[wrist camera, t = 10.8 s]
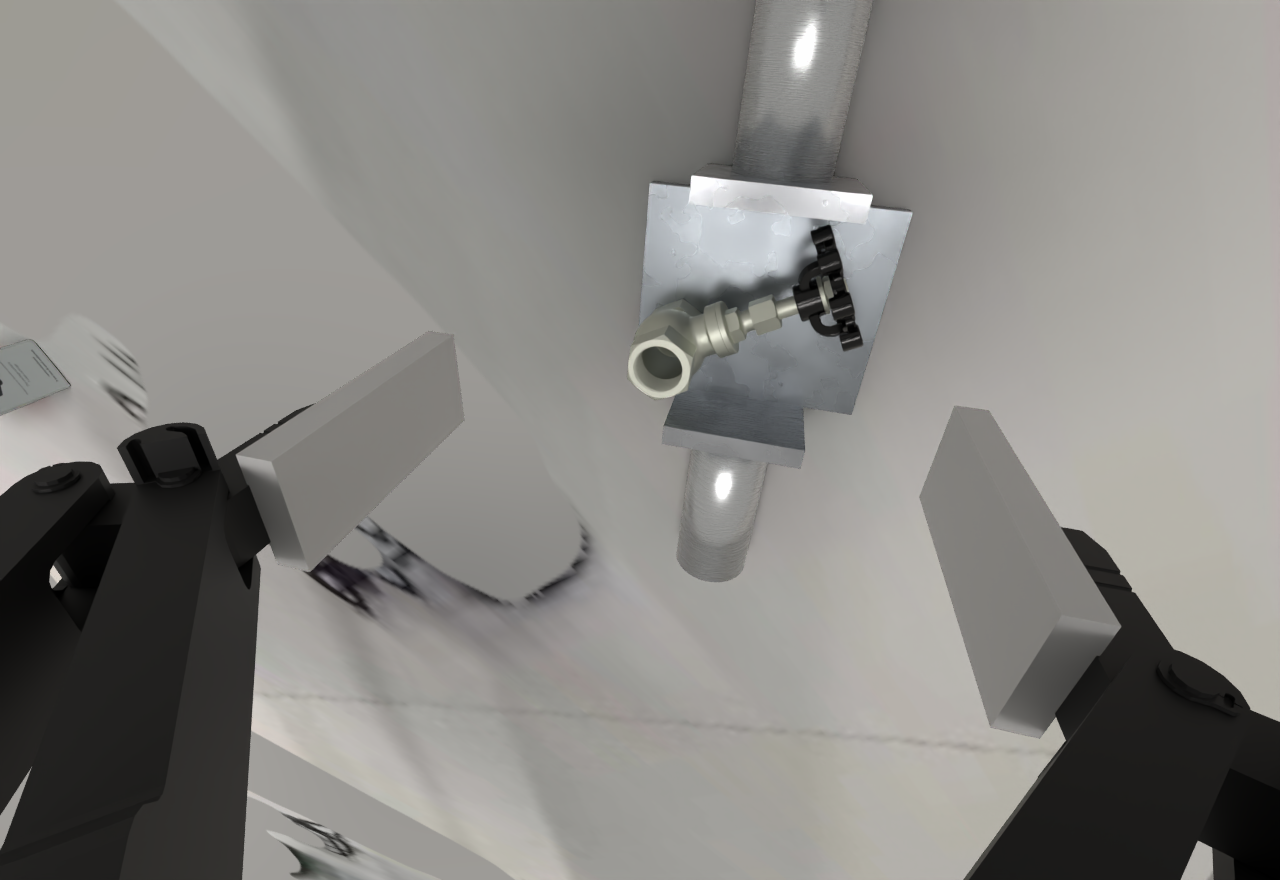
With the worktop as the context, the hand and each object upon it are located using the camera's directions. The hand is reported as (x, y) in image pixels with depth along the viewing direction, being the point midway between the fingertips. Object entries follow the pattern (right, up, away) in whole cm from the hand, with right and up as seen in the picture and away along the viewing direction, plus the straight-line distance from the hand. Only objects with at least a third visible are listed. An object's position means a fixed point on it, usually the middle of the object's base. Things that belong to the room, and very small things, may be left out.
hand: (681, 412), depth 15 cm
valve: (+5, +7, +19) cm, 21 cm away
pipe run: (+6, +8, +19) cm, 22 cm away
